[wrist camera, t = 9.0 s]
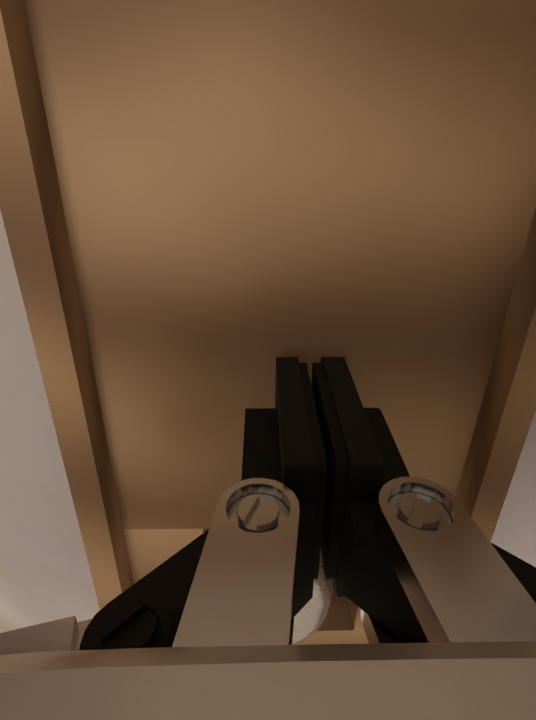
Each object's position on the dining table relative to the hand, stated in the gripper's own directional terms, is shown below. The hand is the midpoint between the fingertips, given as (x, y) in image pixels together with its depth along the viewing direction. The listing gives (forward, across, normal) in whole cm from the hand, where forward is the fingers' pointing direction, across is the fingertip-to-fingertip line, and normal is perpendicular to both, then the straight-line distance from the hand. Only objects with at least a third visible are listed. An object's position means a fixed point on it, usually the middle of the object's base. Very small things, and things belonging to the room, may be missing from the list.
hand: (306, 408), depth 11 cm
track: (+3, 0, +2) cm, 4 cm away
